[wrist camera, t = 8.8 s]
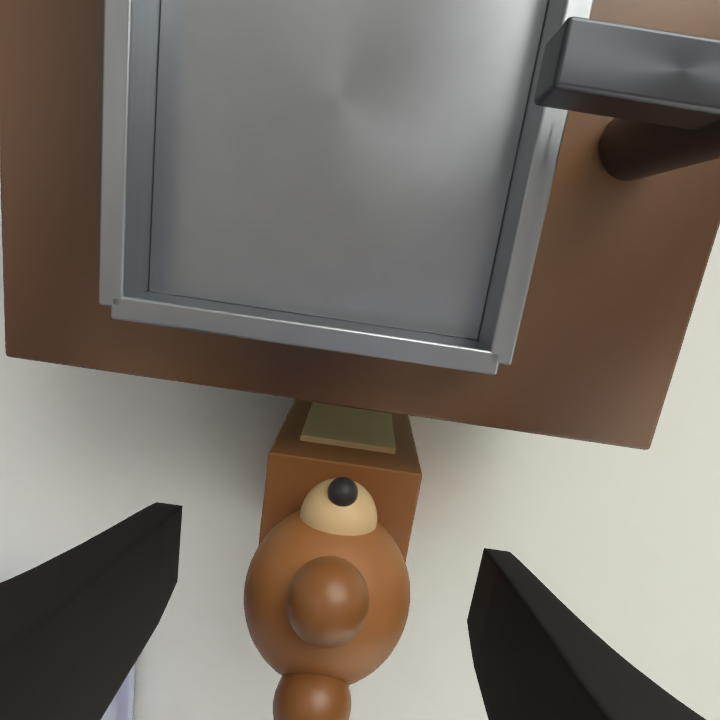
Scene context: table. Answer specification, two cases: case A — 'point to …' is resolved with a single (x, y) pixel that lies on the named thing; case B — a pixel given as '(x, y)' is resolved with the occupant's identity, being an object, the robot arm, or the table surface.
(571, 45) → the toy sink
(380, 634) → the toy bear
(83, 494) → the table surface
